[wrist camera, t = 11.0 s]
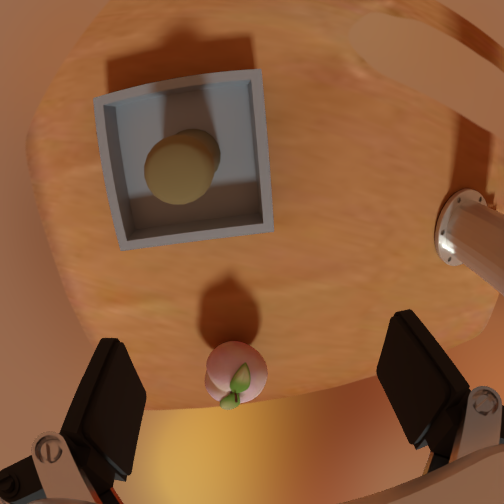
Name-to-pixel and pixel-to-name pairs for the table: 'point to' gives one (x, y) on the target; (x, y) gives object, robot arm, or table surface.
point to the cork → (182, 166)
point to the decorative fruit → (235, 374)
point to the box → (170, 123)
